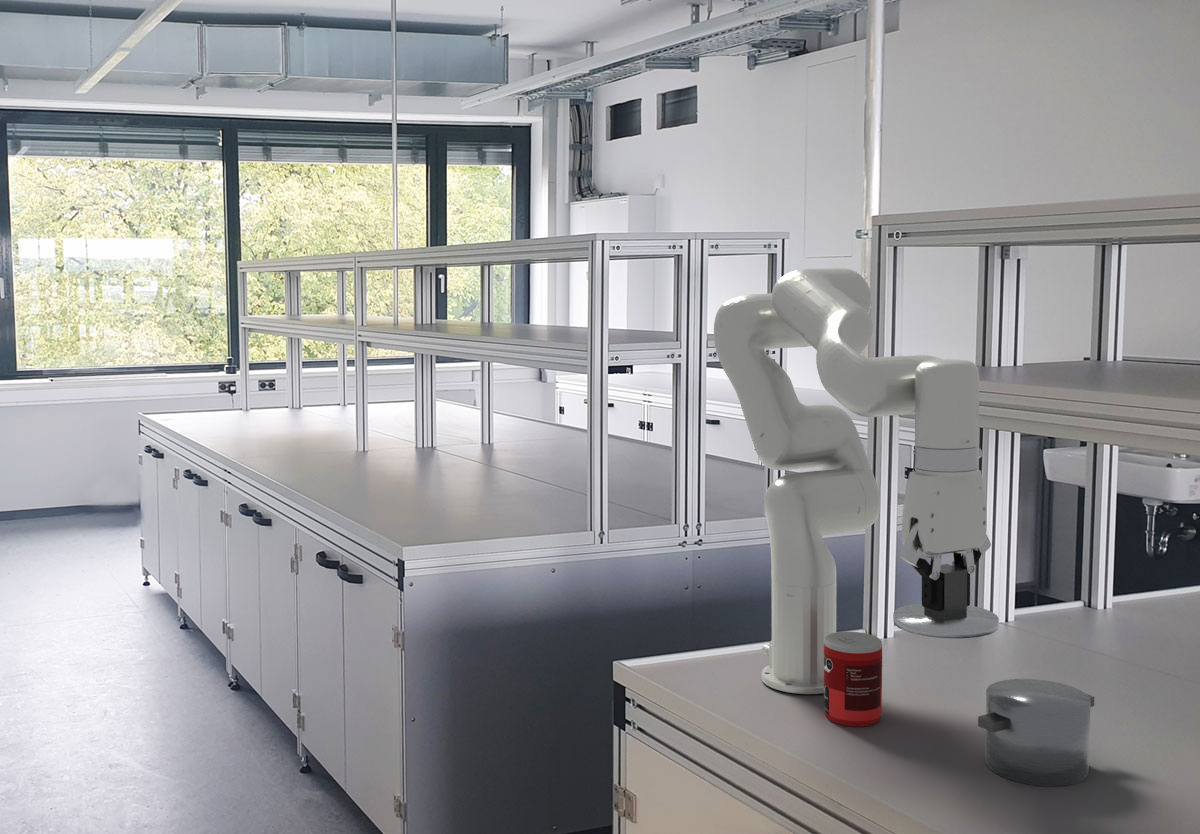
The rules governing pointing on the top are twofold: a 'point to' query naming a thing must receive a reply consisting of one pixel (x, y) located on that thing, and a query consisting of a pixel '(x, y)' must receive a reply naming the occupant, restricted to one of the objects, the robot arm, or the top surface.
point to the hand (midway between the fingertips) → (945, 604)
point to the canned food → (853, 678)
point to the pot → (1037, 732)
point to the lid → (948, 612)
